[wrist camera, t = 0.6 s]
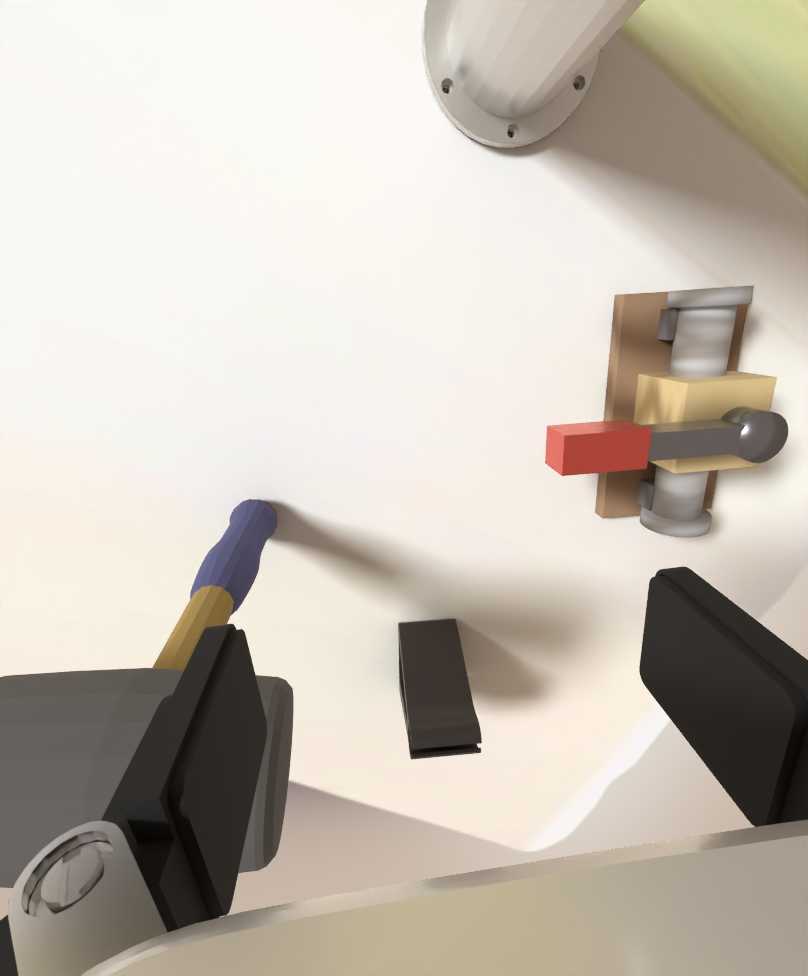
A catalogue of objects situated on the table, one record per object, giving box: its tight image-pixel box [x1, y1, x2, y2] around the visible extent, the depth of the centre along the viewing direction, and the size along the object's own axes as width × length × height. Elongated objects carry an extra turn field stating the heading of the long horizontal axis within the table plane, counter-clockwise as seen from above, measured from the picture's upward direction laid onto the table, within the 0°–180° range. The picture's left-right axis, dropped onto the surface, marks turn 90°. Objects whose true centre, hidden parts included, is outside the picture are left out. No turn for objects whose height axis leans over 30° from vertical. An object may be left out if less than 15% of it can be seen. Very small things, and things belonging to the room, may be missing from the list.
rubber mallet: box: [0, 499, 293, 888], centre depth 30 cm, size 12×8×30 cm, turn 85°
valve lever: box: [545, 406, 788, 476], centre depth 34 cm, size 16×4×3 cm, turn 93°
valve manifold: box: [595, 286, 777, 537], centre depth 40 cm, size 20×11×9 cm, turn 3°
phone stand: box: [398, 619, 482, 759], centre depth 45 cm, size 9×6×12 cm, turn 0°
